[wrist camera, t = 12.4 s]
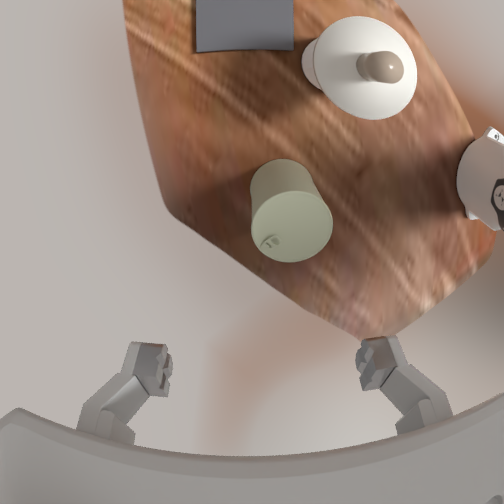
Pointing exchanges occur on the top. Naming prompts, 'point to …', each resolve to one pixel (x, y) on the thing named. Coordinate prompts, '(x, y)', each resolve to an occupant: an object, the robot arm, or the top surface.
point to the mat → (244, 25)
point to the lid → (365, 67)
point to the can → (288, 212)
